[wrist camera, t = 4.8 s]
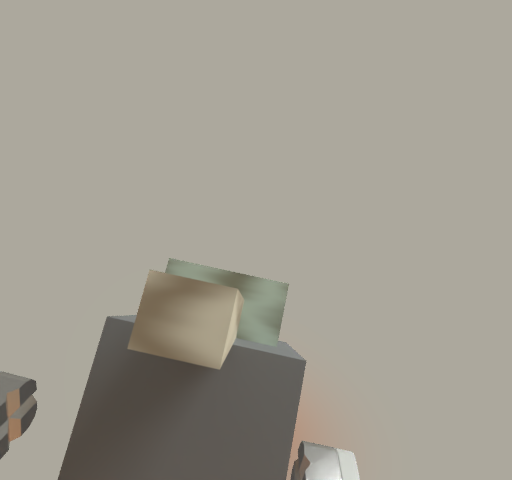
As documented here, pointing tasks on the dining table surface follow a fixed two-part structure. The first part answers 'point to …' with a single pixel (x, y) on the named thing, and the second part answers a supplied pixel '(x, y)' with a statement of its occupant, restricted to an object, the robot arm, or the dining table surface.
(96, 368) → the stand
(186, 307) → the mallet
